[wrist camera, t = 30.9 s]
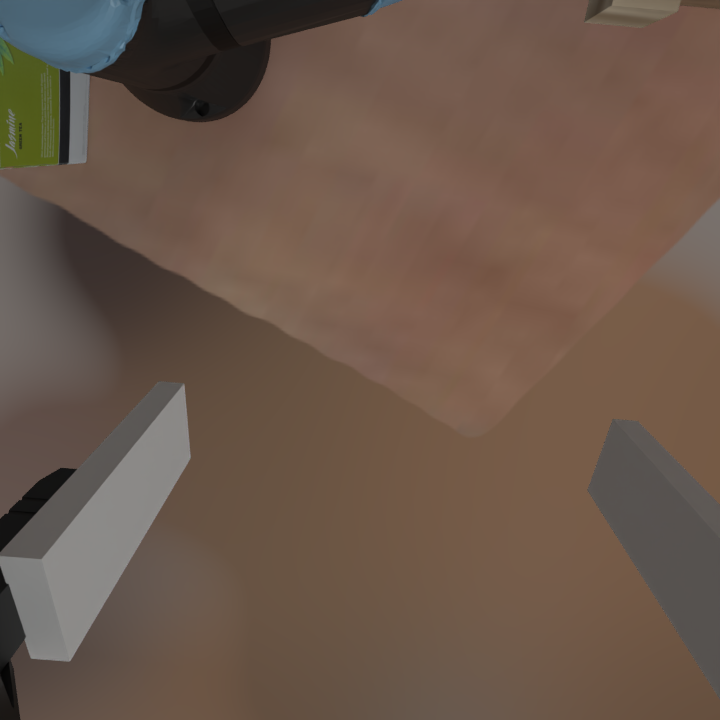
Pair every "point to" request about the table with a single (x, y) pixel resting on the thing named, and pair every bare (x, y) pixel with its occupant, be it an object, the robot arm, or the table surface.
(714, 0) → the walnut plinth
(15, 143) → the tea box
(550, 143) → the table surface
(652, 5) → the tan wooden bar
